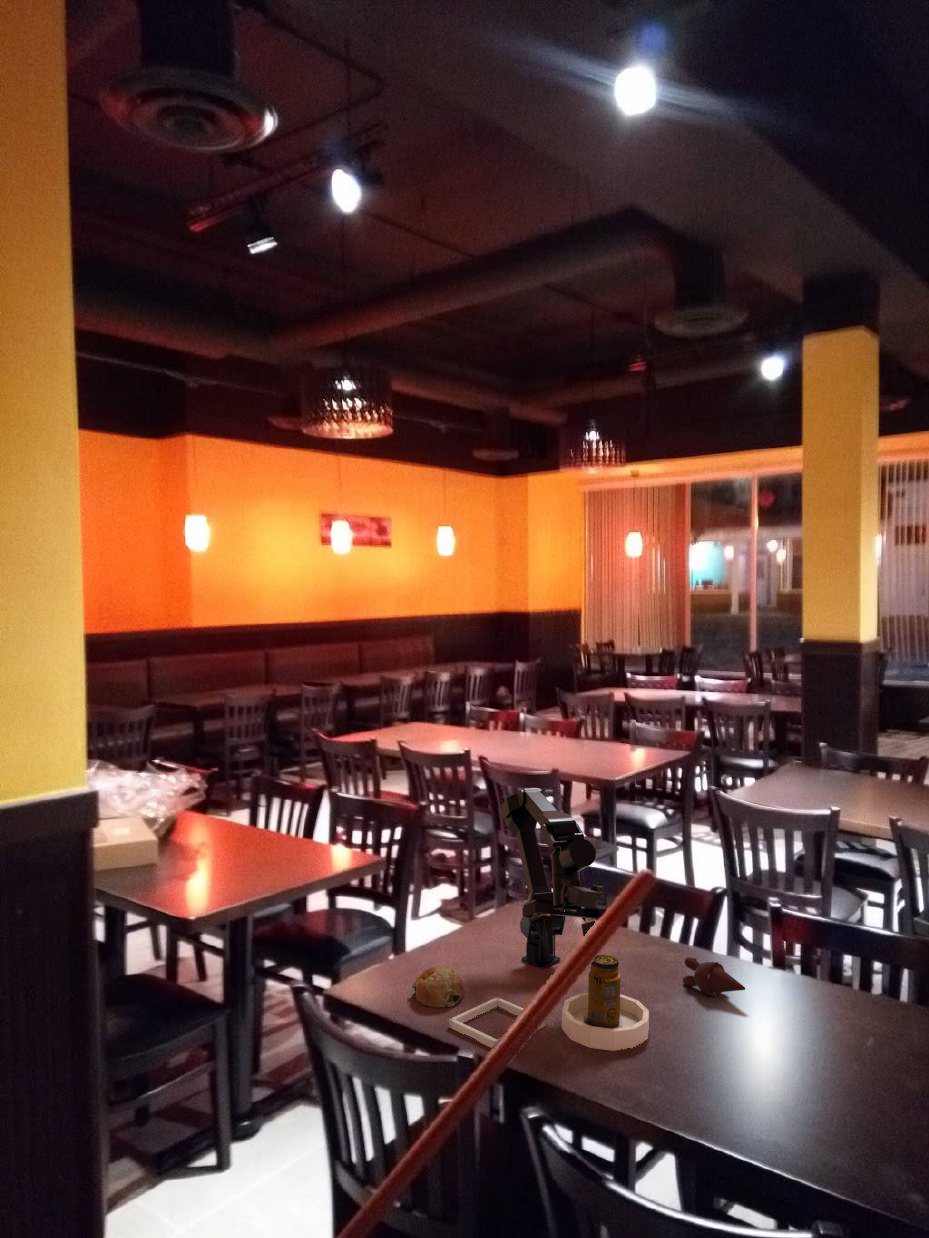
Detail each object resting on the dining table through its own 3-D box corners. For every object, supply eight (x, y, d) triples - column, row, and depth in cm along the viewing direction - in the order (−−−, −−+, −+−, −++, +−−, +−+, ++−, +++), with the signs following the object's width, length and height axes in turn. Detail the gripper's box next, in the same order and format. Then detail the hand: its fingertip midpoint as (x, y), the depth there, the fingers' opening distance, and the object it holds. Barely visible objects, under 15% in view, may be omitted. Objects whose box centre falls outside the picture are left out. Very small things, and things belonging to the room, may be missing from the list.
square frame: (497, 1004, 180) (497, 996, 179) (545, 1025, 171) (545, 1017, 171) (448, 1027, 170) (448, 1019, 170) (497, 1051, 161) (497, 1042, 161)
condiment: (621, 1014, 174) (621, 953, 173) (624, 1035, 165) (624, 971, 165) (583, 1012, 174) (584, 951, 174) (584, 1032, 166) (585, 969, 166)
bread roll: (434, 1029, 177) (448, 997, 174) (399, 994, 182) (412, 963, 180) (464, 1010, 185) (478, 980, 182) (429, 978, 190) (442, 948, 188)
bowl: (595, 1001, 181) (596, 984, 181) (664, 1028, 170) (664, 1010, 170) (545, 1028, 170) (546, 1010, 170) (616, 1059, 158) (616, 1039, 158)
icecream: (756, 970, 182) (696, 953, 194) (735, 969, 178) (674, 952, 189) (753, 1006, 180) (693, 987, 192) (732, 1006, 176) (671, 987, 188)
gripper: (548, 865, 177) (551, 948, 169) (625, 873, 184) (632, 954, 177) (520, 875, 185) (522, 955, 178) (594, 883, 193) (600, 960, 186)
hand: (570, 956), depth 179 cm, fingers open, 9 cm apart
